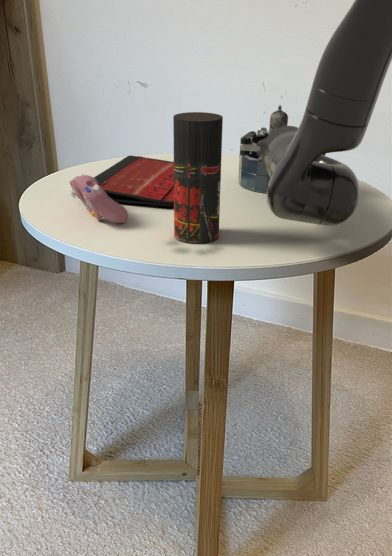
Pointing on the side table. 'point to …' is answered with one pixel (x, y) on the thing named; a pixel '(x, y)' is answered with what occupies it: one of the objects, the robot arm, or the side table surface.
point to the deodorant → (197, 176)
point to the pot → (253, 173)
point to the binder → (139, 181)
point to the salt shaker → (277, 120)
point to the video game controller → (97, 199)
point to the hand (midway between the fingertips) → (275, 134)
